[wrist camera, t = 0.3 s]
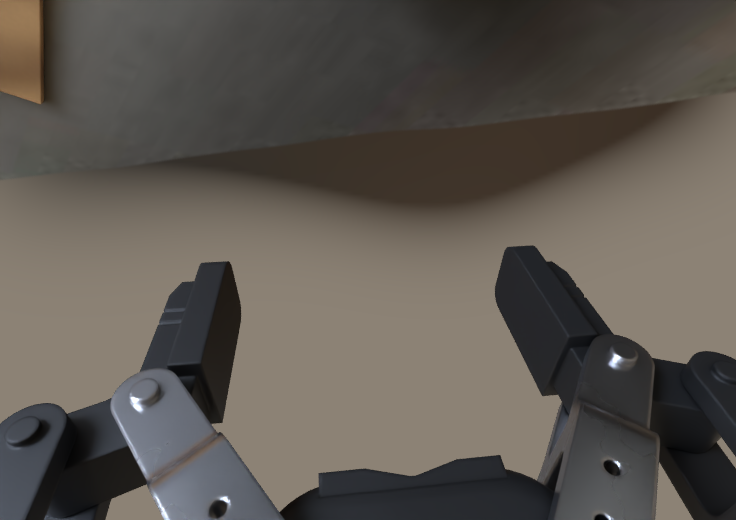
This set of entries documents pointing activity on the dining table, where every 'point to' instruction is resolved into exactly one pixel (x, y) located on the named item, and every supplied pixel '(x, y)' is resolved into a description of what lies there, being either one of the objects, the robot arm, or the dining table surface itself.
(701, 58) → the dining table surface
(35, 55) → the wooden board
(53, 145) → the dining table surface
